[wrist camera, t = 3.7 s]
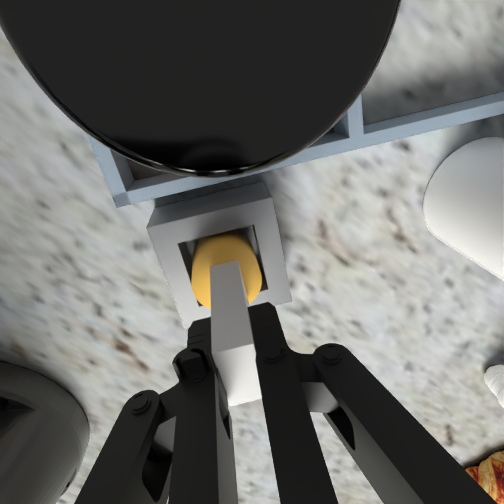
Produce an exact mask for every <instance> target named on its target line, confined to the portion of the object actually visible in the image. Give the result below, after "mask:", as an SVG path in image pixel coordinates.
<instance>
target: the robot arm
mask: <svg viewBox="0 0 504 504" xmlns="http://www.w3.org/2000/svg"><path fill="white" fill-rule="evenodd" d="M210 297H211V317H208V318H204V319H200V320H196V321H193V322H192V324H191V326H190V327H189V329H188V340H187V348H186V349H184V350H182V351H181V352H179V353H178V354H177V355H176V357H175V358H174V360H173V363H172V364H173V367H174V369H175V371H176V374H177V376H178V378H179V383H177V384H176V385H175V386H174V387H172V388H171V389H169V390H167V391H165V392H163V393H161V394H159V395H158V393H157V392H155V391H153V390H145V391H141V392H139V393H137V394H135V395H133V396H132V397H131V398H130V399H129V400H128V401H127V402H126V404H125V405H124V407H123V409H122V410H121V412H120V414H119V416H118V418H117V420H116V422H115V424H114V426H113V428H112V430H111V432H110V434H109V436H108V438H107V440H106V442H105V444H104V446H103V448H102V450H101V452H100V454H99V456H98V458H97V460H96V462H95V464H94V466H93V468H92V470H91V472H90V474H89V476H88V477H87V479H86V481H85V483H84V485H83V487H82V489H81V491H80V493H79V495H78V497H77V499H76V501H75V503H74V504H166V503H167V499H168V496H169V501H168V504H238V495H237V482H236V470H235V457H234V445H233V432H232V420H231V416H230V413H229V410H228V402H229V405H230V406H234V405H238V404H242V403H246V402H250V401H254V400H258V399H262V401H263V407H264V412H265V418H266V424H267V429H268V435H269V441H270V446H271V452H272V457H273V463H274V469H275V474H276V480H277V486H278V491H279V497H280V503H281V504H338V501H337V498H336V495H335V491H334V488H333V485H332V482H331V479H330V476H329V472H328V469H327V466H326V463H325V460H324V457H323V453H322V450H321V447H320V444H319V441H318V438H317V434H316V431H315V428H314V425H313V422H312V419H311V415H310V412H322V413H323V415H324V417H325V418H326V420H327V421H328V422H329V424H330V425H331V427H332V428H333V430H334V431H335V433H336V434H337V436H338V437H339V439H340V440H341V442H342V443H343V444H344V446H345V447H346V449H347V450H348V452H349V453H350V455H351V456H352V458H353V459H354V461H355V462H356V464H357V465H358V466H359V468H360V469H361V471H362V472H363V474H364V475H365V477H366V478H367V480H368V481H369V483H370V484H371V486H372V487H373V488H374V490H375V491H376V493H377V494H378V496H379V497H380V499H381V500H382V502H383V503H384V504H498V503H497V502H496V501H495V500H494V499H493V498H492V497H491V496H490V495H489V494H488V493H487V492H486V491H485V490H484V489H483V488H482V487H481V486H480V485H479V484H478V483H477V482H476V481H475V480H474V479H473V478H472V477H471V476H470V475H469V474H468V472H467V471H466V470H465V469H464V468H463V467H462V466H461V465H460V464H459V463H458V462H457V461H456V460H455V459H454V458H453V457H452V456H451V455H450V454H449V453H448V452H447V451H446V450H445V449H444V448H443V447H442V446H441V445H440V444H439V443H438V442H437V441H436V440H435V438H434V437H433V436H432V435H431V434H430V433H429V432H428V431H427V430H426V429H425V428H424V427H423V426H422V425H421V424H420V423H419V422H418V421H417V420H416V419H415V418H414V417H413V416H412V415H411V414H410V413H409V412H408V411H407V410H406V409H405V408H404V407H403V406H402V405H401V403H400V402H399V401H398V400H397V399H396V398H395V397H394V396H393V395H392V394H391V393H390V392H389V391H388V390H387V389H386V388H385V387H384V386H383V385H382V384H381V383H380V382H379V381H378V380H377V379H376V378H375V377H374V376H373V375H372V374H371V373H370V372H369V371H368V369H367V368H366V367H365V366H364V365H363V364H362V363H361V362H360V361H359V360H358V359H357V358H356V357H355V356H354V355H353V354H352V353H351V352H350V351H349V350H348V349H347V348H345V347H344V346H343V345H339V344H336V343H328V344H324V345H321V346H320V347H318V348H317V349H316V350H315V351H314V353H313V354H300V353H297V352H294V351H293V350H291V349H290V348H289V347H288V345H287V343H286V340H285V337H284V334H283V330H282V327H281V324H280V321H279V318H278V315H277V311H276V308H275V306H273V305H272V304H271V303H270V302H265V303H261V304H257V305H253V306H249V301H248V297H247V294H246V290H245V286H244V282H243V278H242V274H241V271H240V267H239V263H238V260H235V261H231V262H227V263H223V264H219V265H215V266H211V267H210ZM88 441H89V426H88V422H87V419H86V417H85V414H84V412H83V411H82V409H81V407H80V406H79V404H78V403H77V402H76V401H75V400H74V398H73V397H72V396H71V395H70V394H68V393H67V392H66V391H65V390H64V389H63V388H61V387H60V386H58V385H57V384H55V383H54V382H52V381H51V380H49V379H47V378H45V377H43V376H41V375H39V374H37V373H35V372H33V371H30V370H27V369H25V368H22V367H18V366H15V365H11V364H7V363H2V362H0V504H56V502H57V501H58V499H59V497H60V496H62V495H63V494H64V493H65V492H66V490H67V489H68V488H69V486H70V485H71V484H72V482H73V481H74V479H75V477H76V475H77V473H78V471H79V469H80V466H81V463H82V460H83V457H84V454H85V451H86V448H87V445H88Z"/></svg>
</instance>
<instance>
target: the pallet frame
mask: <svg viewBox="0 0 504 504" xmlns="http://www.w3.org/2000/svg"><path fill="white" fill-rule="evenodd" d="M500 114H504V92H500V93H496V94H492V95H488V96H484V97H480V98H476V99H471V100H467V101H463V102H459V103H455V104H451V105H447V106H442V107H438V108H434V109H430V110H426V111H422V112H418V113H414V114H409V115H405V116H401V117H397V118H393V119H389V120H385V121H380V122H376V123H372V124H368V125H364V126H363V115H362V99H361V94H360V95H359V96H358V98H357V99H356V101H355V102H354V103H353V105H352V106H351V107H350V108H349V109H348V111H347V112H346V113H345V114H344V115H343V117H342V118H341V119H340V120H339V121H338V122H337V123H336V124H335V125H334V133H331V134H327V135H323V136H322V137H320V138H319V139H318V140H317V141H316V142H314V143H313V144H312V145H310V146H309V147H307V148H306V149H304V150H303V151H301V152H300V153H298V154H296V155H294V156H293V157H291V158H289V159H287V160H285V161H283V162H281V163H279V164H276V165H274V166H271V167H269V168H266V169H263V170H260V171H256V172H253V173H250V174H244V175H239V176H233V177H222V178H196V177H188V176H180V175H175V174H171V173H165V174H161V175H157V176H153V177H149V178H145V179H140V180H136V181H134V178H133V175H132V173H131V170H130V167H129V165H128V162H127V159H126V157H123V156H122V155H120V154H118V153H116V152H115V151H113V150H111V149H109V148H108V147H106V146H104V145H103V144H101V143H100V142H98V141H97V140H96V139H94V138H93V137H91V136H90V135H88V134H87V133H86V134H87V136H88V139H89V141H90V144H91V146H92V149H93V151H94V154H95V156H96V158H97V161H98V163H99V166H100V168H101V171H102V173H103V176H104V178H105V180H106V183H107V185H108V188H109V190H110V193H111V195H112V197H113V200H114V202H115V205H116V207H121V206H126V205H130V204H134V203H138V202H142V201H146V200H150V199H154V198H158V197H163V196H167V195H171V194H175V193H179V192H183V191H187V190H191V189H195V188H200V187H204V186H208V185H212V184H216V183H220V182H224V181H228V180H232V179H237V178H241V177H245V176H249V175H253V174H257V173H261V172H265V171H270V170H274V169H278V168H282V167H286V166H290V165H294V164H298V163H302V162H307V161H311V160H315V159H319V158H323V157H327V156H331V155H335V154H339V153H344V152H348V151H352V150H356V149H360V148H364V147H368V146H372V145H376V144H381V143H385V142H389V141H393V140H397V139H401V138H405V137H409V136H414V135H418V134H422V133H426V132H430V131H434V130H438V129H442V128H446V127H451V126H455V125H459V124H463V123H467V122H471V121H475V120H479V119H483V118H488V117H492V116H496V115H500Z"/></svg>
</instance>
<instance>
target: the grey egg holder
mask: <svg viewBox="0 0 504 504" xmlns="http://www.w3.org/2000/svg"><path fill="white" fill-rule="evenodd" d="M234 229H236V230H238V231H240V232H242V233H243V234H244V235H246V236H247V237H248V239H249V240H250V242H251V244H252V246H253V249H254V253H255V256H256V259H257V262H258V266H259V269H260V272H261V276H262V285H261V289H260V291H259V294H258V295H257V297H256V298H255V299H254V300H253V301H252V302H251V303H250V304H249V306H253V305H257V304H261V303H265V302H270V303H271V304H272V305H273V306H276V305H280V304H284V303H288V302H292V297H291V292H290V287H289V281H288V276H287V271H286V266H285V261H284V255H283V250H282V245H281V240H280V234H279V229H278V224H277V219H276V213H275V208H274V203H273V198H272V196H271V194H270V193H269V191H268V189H267V188H266V186H265V185H264V183H263V181H262V182H258V183H254V184H250V185H246V186H242V187H238V188H234V189H230V190H225V191H221V192H217V193H213V194H209V195H205V196H201V197H197V198H193V199H189V200H184V201H180V202H176V203H172V204H168V205H164V206H160V207H156V208H154V211H153V213H152V216H151V218H150V220H149V223H148V225H147V231H148V233H149V236H150V239H151V241H152V244H153V247H154V249H155V252H156V255H157V257H158V260H159V263H160V265H161V268H162V270H163V273H164V276H165V278H166V281H167V284H168V286H169V289H170V292H171V294H172V297H173V299H174V302H175V305H176V307H177V310H178V313H179V315H180V318H181V321H182V323H183V326H184V328H189V327H190V326H191V324H192V322H193V321H196V320H200V319H204V318H208V317H211V309H208V308H207V307H205V306H203V305H202V304H201V303H200V302H199V301H198V300H197V299H196V297H195V295H194V293H193V291H192V285H191V280H192V265H193V251H194V247H195V245H196V243H197V241H198V240H199V238H201V237H206V236H210V235H214V234H218V233H222V232H226V231H230V230H234Z"/></svg>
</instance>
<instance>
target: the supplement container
mask: <svg viewBox="0 0 504 504" xmlns="http://www.w3.org/2000/svg"><path fill="white" fill-rule="evenodd" d="M400 4H401V0H0V26H1V28H2V30H3V32H4V34H5V36H6V38H7V40H8V41H9V43H10V45H11V46H12V48H13V50H14V51H15V53H16V54H17V56H18V58H19V59H20V61H21V63H22V64H23V65H24V67H25V68H26V70H27V71H28V72H29V74H30V75H31V76H32V78H33V79H34V81H35V82H36V83H37V85H38V86H39V87H40V88H41V89H42V90H43V92H44V93H45V94H46V95H47V96H48V97H49V98H50V100H51V101H52V102H53V103H54V104H55V105H56V106H57V107H58V108H59V109H60V110H61V111H62V112H63V113H64V114H65V115H66V116H67V117H68V118H69V119H70V120H71V121H73V122H74V123H75V124H76V125H77V126H79V127H80V128H81V129H82V130H83V131H85V132H86V133H87V134H88V135H90V136H91V137H93V138H94V139H96V140H97V141H98V142H100V143H101V144H103V145H104V146H106V147H108V148H109V149H111V150H113V151H115V152H116V153H118V154H120V155H122V156H123V157H126V158H128V159H130V160H132V161H134V162H137V163H139V164H141V165H144V166H147V167H150V168H153V169H156V170H159V171H162V172H166V173H171V174H175V175H180V176H188V177H196V178H222V177H233V176H239V175H244V174H250V173H253V172H256V171H260V170H263V169H266V168H269V167H271V166H274V165H276V164H279V163H281V162H283V161H285V160H287V159H289V158H291V157H293V156H294V155H296V154H298V153H300V152H301V151H303V150H304V149H306V148H307V147H309V146H310V145H312V144H313V143H314V142H316V141H317V140H318V139H319V138H320V137H322V136H323V135H324V134H325V133H326V132H328V131H329V130H330V129H331V128H332V127H333V126H334V125H335V124H336V123H337V122H338V121H339V120H340V119H341V118H342V117H343V115H344V114H345V113H346V112H347V111H348V109H349V108H350V107H351V106H352V105H353V103H354V102H355V101H356V99H357V98H358V96H359V95H360V94H361V92H362V91H363V89H364V88H365V86H366V85H367V83H368V81H369V80H370V78H371V76H372V74H373V73H374V71H375V69H376V67H377V65H378V63H379V61H380V59H381V57H382V55H383V52H384V50H385V48H386V46H387V44H388V41H389V38H390V35H391V33H392V30H393V27H394V24H395V22H396V18H397V14H398V11H399V7H400Z"/></svg>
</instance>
